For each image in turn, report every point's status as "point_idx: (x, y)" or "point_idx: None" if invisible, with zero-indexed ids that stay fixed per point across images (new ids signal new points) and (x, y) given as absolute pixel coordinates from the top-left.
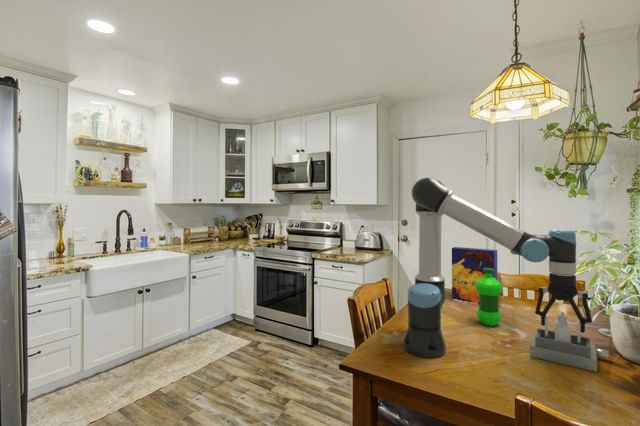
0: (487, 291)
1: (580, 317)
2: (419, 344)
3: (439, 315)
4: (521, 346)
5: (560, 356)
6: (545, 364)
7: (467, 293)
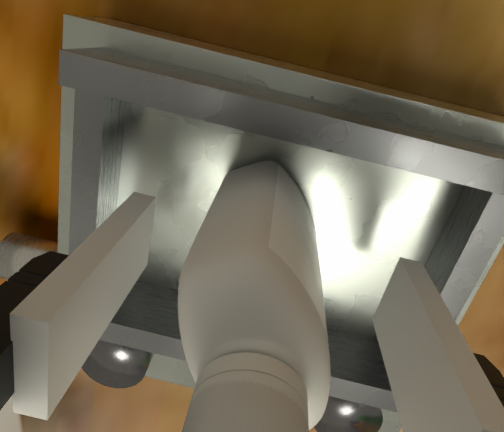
0: None
1: None
2: None
3: None
4: (499, 278)
5: (321, 74)
6: (437, 2)
7: None
